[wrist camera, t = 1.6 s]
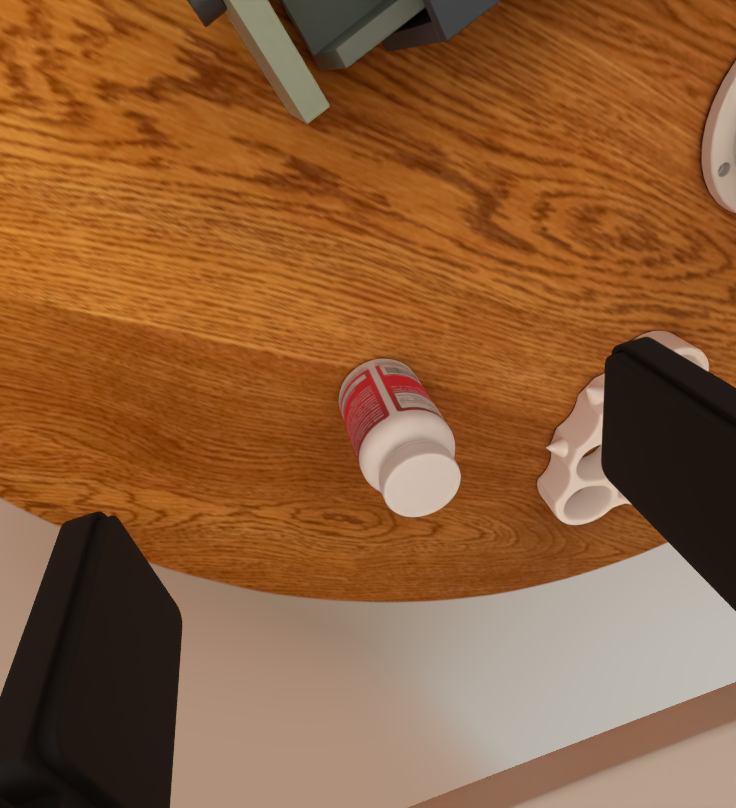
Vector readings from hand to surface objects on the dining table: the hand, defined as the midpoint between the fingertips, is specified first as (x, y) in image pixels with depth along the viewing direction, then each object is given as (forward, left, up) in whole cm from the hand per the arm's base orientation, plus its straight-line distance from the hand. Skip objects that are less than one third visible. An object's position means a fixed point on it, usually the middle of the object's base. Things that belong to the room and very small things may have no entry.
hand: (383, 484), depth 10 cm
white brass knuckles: (-13, +32, -26) cm, 43 cm away
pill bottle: (+2, +15, -26) cm, 30 cm away
